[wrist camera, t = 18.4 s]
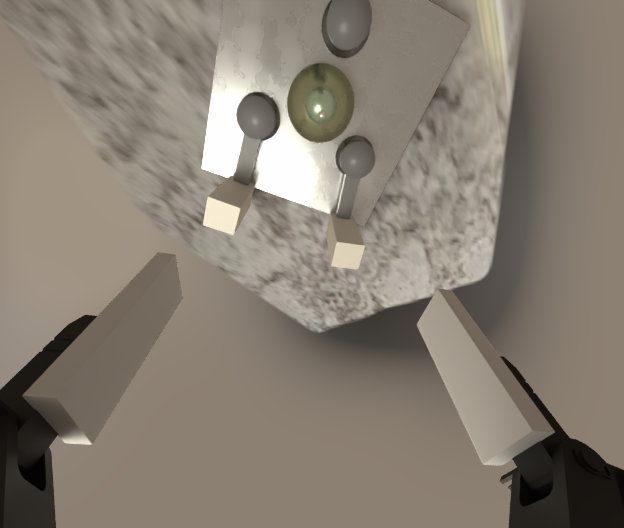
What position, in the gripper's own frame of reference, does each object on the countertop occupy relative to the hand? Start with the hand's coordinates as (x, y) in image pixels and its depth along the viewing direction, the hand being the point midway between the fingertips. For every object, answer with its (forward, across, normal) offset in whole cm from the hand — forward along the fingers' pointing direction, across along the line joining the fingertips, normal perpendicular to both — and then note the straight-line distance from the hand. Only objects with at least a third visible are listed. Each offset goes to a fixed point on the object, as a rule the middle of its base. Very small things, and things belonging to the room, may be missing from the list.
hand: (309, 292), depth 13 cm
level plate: (+26, 0, +8) cm, 27 cm away
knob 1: (+23, -8, +1) cm, 24 cm away
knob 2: (+23, +5, -1) cm, 23 cm away
